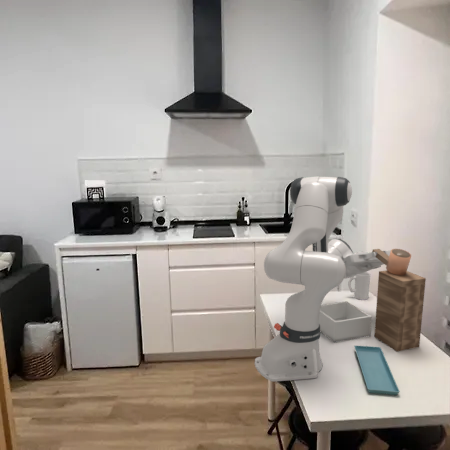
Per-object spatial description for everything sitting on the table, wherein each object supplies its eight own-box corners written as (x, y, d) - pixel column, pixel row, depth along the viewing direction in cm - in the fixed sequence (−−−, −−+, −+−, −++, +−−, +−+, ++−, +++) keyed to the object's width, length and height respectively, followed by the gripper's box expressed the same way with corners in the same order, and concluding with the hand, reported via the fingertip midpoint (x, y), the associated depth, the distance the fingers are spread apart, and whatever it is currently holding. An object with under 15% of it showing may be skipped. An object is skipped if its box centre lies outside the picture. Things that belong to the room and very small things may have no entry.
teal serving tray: (399, 398, 120) (400, 390, 119) (367, 395, 121) (367, 388, 121) (380, 353, 145) (380, 346, 145) (353, 351, 147) (354, 345, 146)
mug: (365, 294, 199) (367, 271, 197) (371, 300, 193) (372, 275, 190) (345, 295, 199) (346, 271, 197) (349, 300, 192) (351, 276, 190)
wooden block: (396, 351, 145) (402, 281, 140) (374, 336, 157) (379, 271, 151) (419, 347, 149) (425, 278, 143) (395, 332, 160) (401, 268, 155)
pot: (410, 274, 148) (415, 257, 145) (394, 276, 146) (399, 258, 143) (382, 252, 162) (386, 236, 159) (367, 254, 160) (371, 238, 157)
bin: (334, 342, 152) (335, 322, 151) (311, 324, 167) (312, 306, 165) (370, 336, 157) (371, 316, 156) (345, 319, 172) (346, 301, 170)
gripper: (336, 257, 167) (355, 247, 155) (378, 252, 174) (399, 243, 161) (340, 272, 166) (359, 263, 153) (382, 267, 172) (404, 258, 160)
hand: (380, 253), depth 157 cm, fingers closed on pot, 3 cm apart
